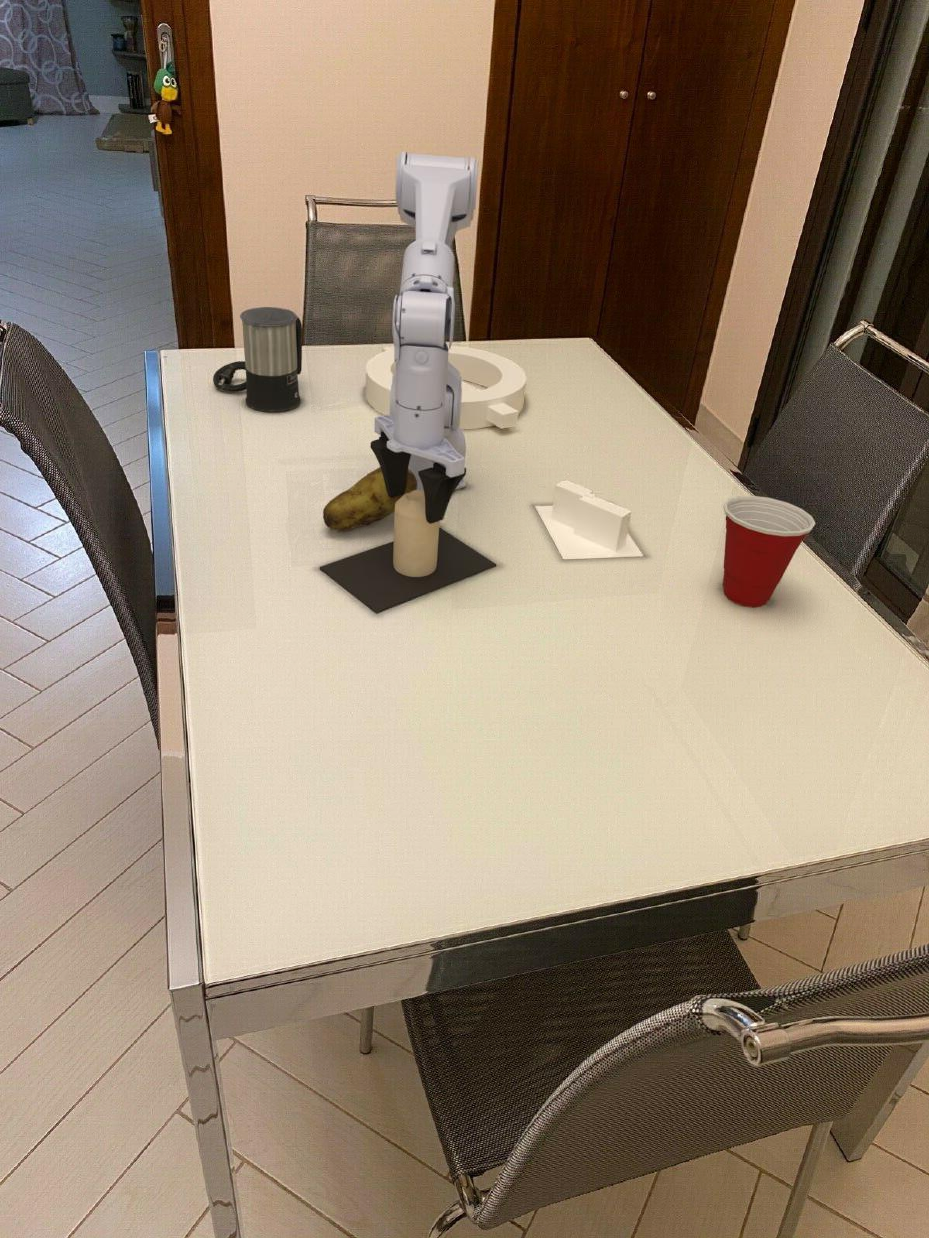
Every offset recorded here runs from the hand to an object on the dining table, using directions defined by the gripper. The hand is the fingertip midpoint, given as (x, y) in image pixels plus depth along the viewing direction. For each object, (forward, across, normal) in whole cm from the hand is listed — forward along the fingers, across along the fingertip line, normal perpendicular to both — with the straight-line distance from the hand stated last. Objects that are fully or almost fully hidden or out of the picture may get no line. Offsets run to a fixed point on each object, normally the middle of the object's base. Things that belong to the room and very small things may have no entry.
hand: (415, 507), depth 114 cm
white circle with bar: (+9, -42, +40) cm, 59 cm away
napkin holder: (+9, +6, +26) cm, 28 cm away
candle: (+9, 0, 0) cm, 9 cm away
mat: (+9, 0, 0) cm, 9 cm away
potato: (+9, -12, +2) cm, 16 cm away
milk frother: (+9, -60, +12) cm, 61 cm away
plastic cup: (+9, +28, +31) cm, 43 cm away
